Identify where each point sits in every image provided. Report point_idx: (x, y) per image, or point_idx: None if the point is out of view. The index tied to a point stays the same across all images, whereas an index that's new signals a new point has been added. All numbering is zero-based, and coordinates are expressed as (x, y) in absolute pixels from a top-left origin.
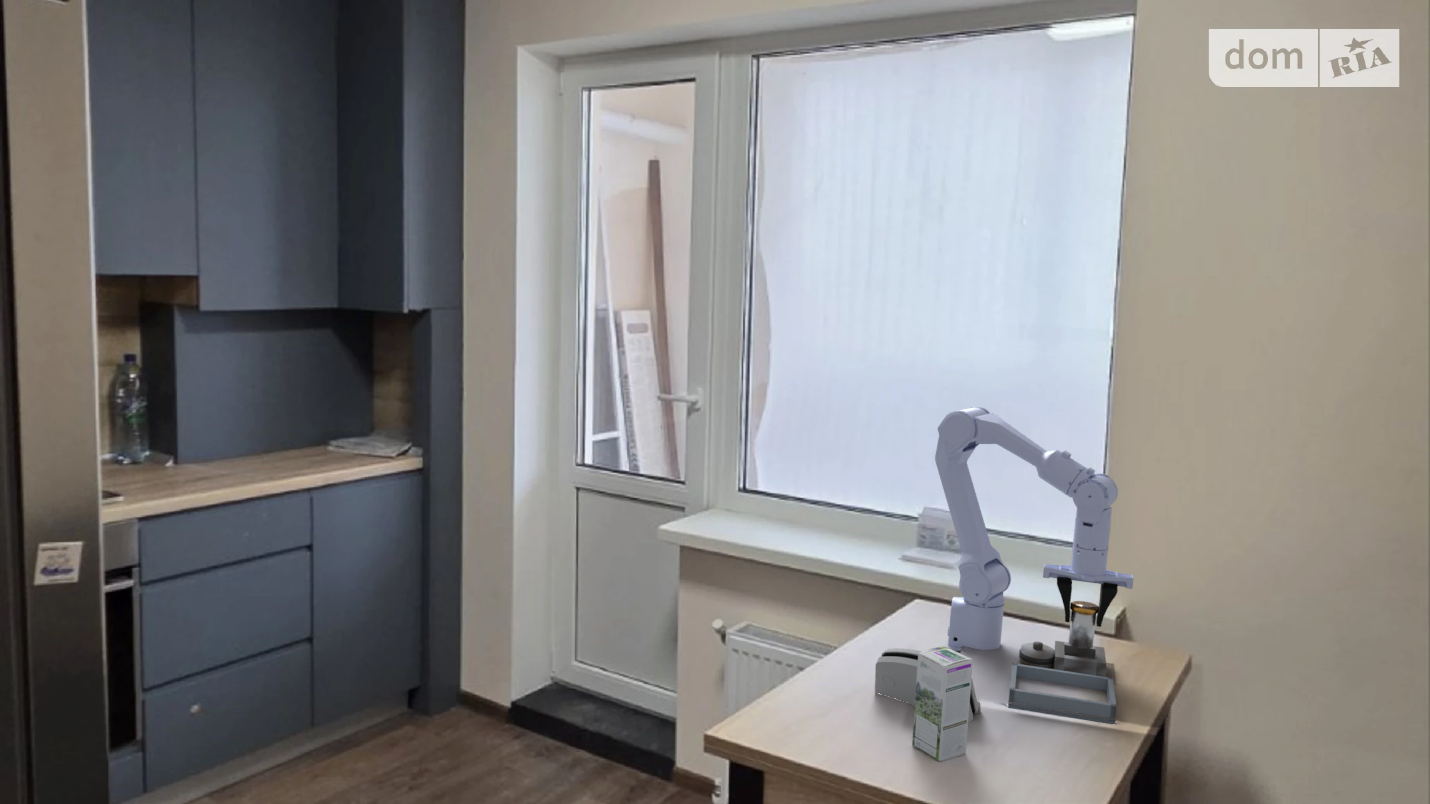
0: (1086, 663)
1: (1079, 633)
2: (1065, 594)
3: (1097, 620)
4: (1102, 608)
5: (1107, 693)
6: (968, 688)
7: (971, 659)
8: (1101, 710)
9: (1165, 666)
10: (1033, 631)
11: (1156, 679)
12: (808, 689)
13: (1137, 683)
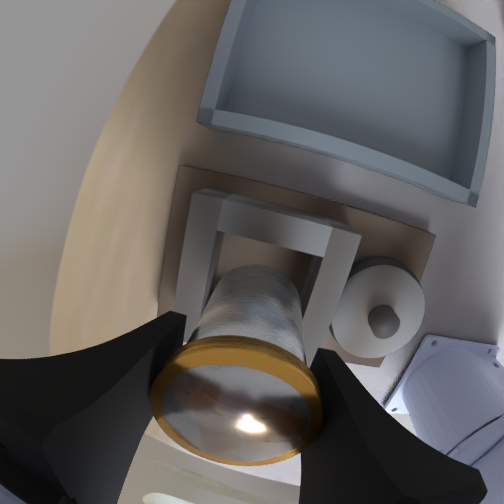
0: (258, 207)
1: (275, 293)
2: (410, 450)
3: (177, 327)
4: (126, 352)
5: (231, 72)
6: None
7: None
8: None
9: (66, 330)
10: (289, 461)
11: (82, 261)
12: None
13: (122, 228)
